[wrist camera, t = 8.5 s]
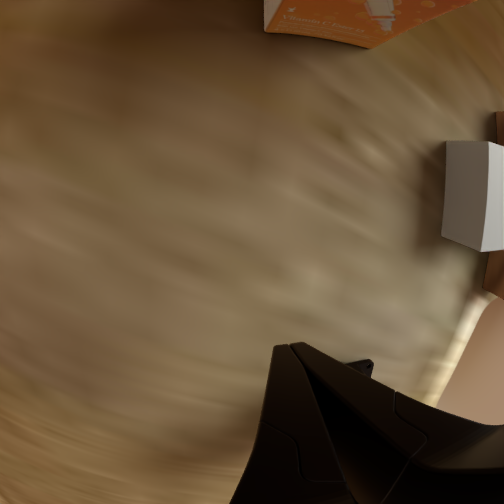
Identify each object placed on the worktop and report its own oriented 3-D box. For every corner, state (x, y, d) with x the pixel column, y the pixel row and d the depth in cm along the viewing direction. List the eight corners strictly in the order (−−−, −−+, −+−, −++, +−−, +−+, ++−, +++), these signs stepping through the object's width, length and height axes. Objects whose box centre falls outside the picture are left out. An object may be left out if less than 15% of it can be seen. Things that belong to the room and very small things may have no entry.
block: (489, 233, 23) (526, 247, 19) (439, 235, 22) (480, 252, 17) (495, 153, 21) (533, 158, 16) (444, 140, 20) (488, 141, 15)
